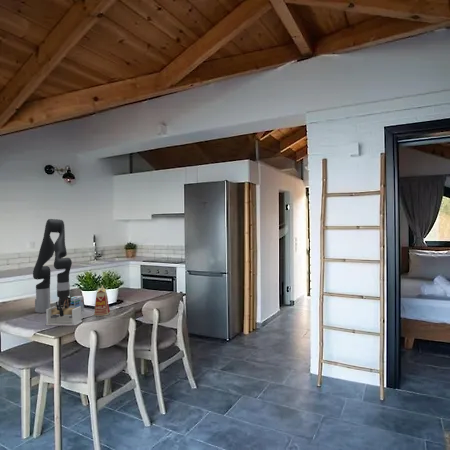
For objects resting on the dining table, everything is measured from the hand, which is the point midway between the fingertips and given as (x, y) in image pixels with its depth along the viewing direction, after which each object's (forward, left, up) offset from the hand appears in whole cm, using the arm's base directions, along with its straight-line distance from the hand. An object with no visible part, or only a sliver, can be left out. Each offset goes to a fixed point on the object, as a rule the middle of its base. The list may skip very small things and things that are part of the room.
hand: (63, 315), depth 228 cm
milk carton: (+15, +23, -6) cm, 28 cm away
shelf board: (0, 0, +1) cm, 1 cm away
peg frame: (0, 0, -5) cm, 5 cm away
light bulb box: (-8, +29, -6) cm, 31 cm away
